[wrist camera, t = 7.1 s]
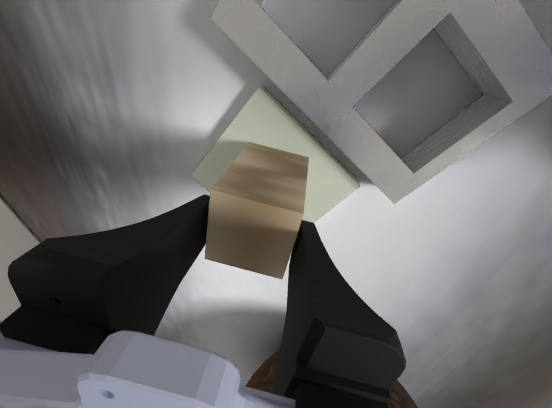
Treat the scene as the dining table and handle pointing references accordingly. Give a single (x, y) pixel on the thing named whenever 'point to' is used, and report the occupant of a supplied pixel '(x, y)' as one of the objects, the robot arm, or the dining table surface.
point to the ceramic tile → (284, 136)
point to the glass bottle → (266, 375)
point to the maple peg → (257, 210)
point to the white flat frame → (384, 56)
